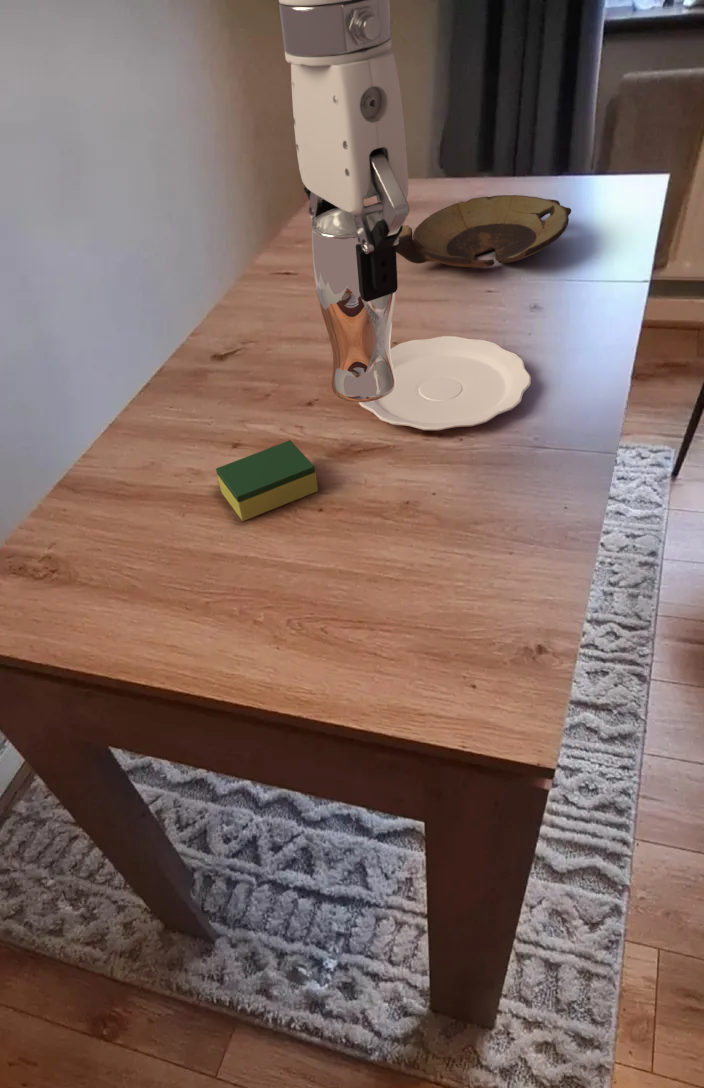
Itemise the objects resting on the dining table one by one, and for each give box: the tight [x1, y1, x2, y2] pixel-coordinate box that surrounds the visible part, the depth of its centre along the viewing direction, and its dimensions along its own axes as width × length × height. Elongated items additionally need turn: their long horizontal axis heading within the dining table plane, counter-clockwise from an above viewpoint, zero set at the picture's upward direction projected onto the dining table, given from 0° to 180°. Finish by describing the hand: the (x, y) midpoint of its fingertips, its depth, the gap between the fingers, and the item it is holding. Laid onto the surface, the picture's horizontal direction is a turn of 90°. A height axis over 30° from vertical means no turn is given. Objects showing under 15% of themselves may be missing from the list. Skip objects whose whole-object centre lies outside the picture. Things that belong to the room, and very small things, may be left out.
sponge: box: [215, 439, 319, 522], centre depth 86 cm, size 9×6×3 cm, turn 117°
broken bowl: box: [396, 194, 572, 268], centre depth 121 cm, size 22×30×8 cm
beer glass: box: [310, 204, 397, 403], centre depth 69 cm, size 7×7×15 cm
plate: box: [357, 335, 532, 431], centre depth 97 cm, size 21×21×2 cm
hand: (356, 278), depth 68 cm, fingers closed on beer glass, 7 cm apart
